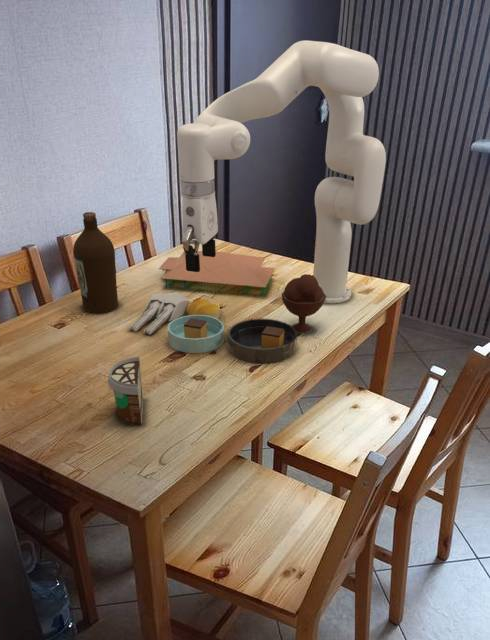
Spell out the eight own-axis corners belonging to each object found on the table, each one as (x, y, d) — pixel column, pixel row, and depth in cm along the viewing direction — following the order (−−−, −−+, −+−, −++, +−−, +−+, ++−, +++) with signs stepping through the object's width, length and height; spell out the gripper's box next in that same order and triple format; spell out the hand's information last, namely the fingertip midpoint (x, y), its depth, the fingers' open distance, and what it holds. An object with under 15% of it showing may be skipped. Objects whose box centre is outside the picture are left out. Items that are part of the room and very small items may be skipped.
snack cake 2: (266, 344, 164) (266, 326, 161) (283, 346, 163) (284, 328, 160) (261, 351, 161) (261, 332, 158) (278, 354, 160) (279, 335, 157)
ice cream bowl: (328, 325, 174) (333, 269, 165) (313, 342, 165) (318, 284, 157) (290, 317, 177) (292, 262, 168) (274, 334, 169) (276, 277, 160)
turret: (124, 336, 173) (121, 321, 169) (165, 298, 185) (162, 283, 182) (157, 345, 169) (154, 329, 166) (196, 305, 181) (194, 289, 178)
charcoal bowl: (241, 330, 171) (241, 314, 169) (304, 339, 167) (305, 324, 164) (218, 358, 159) (217, 342, 156) (285, 370, 154) (286, 354, 152)
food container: (114, 398, 144) (109, 356, 138) (143, 397, 144) (139, 355, 138) (110, 430, 134) (104, 387, 128) (141, 428, 134) (136, 385, 129)
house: (176, 260, 212) (175, 235, 207) (279, 269, 206) (280, 243, 201) (153, 288, 194) (151, 260, 189) (265, 298, 188) (266, 270, 183)
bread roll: (203, 325, 173) (203, 311, 171) (182, 314, 179) (182, 300, 176) (228, 317, 178) (227, 303, 175) (207, 306, 183) (206, 292, 181)
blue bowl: (182, 326, 173) (181, 311, 170) (232, 334, 169) (232, 319, 167) (159, 349, 162) (158, 334, 160) (212, 359, 158) (211, 343, 156)
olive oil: (115, 296, 189) (104, 205, 174) (124, 310, 181) (115, 217, 166) (77, 302, 185) (63, 210, 171) (85, 317, 177) (72, 222, 163)
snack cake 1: (191, 335, 167) (190, 318, 165) (207, 338, 166) (206, 320, 163) (184, 342, 164) (183, 324, 162) (201, 345, 163) (200, 327, 160)
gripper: (198, 199, 137) (202, 279, 148) (227, 178, 150) (229, 252, 161) (165, 196, 140) (171, 275, 150) (196, 175, 153) (200, 249, 163)
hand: (201, 263), depth 155 cm, fingers open, 9 cm apart
